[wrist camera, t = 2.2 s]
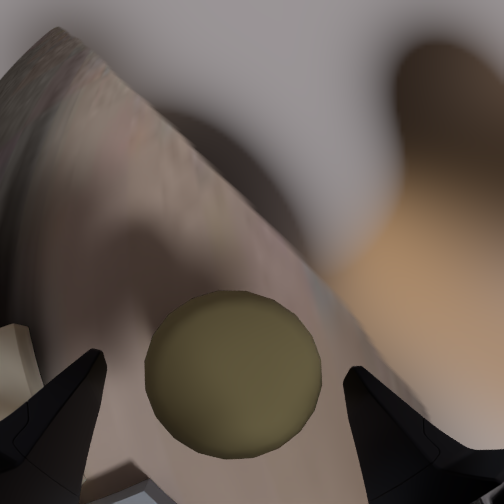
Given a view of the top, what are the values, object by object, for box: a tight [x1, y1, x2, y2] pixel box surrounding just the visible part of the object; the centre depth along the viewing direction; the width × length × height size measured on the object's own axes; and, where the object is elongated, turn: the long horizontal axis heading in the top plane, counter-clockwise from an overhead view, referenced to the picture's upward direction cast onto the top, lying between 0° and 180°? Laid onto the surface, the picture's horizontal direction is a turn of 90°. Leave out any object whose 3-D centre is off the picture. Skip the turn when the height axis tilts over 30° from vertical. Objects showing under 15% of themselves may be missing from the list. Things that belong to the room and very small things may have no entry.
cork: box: [145, 291, 322, 459], centre depth 11 cm, size 6×6×11 cm
